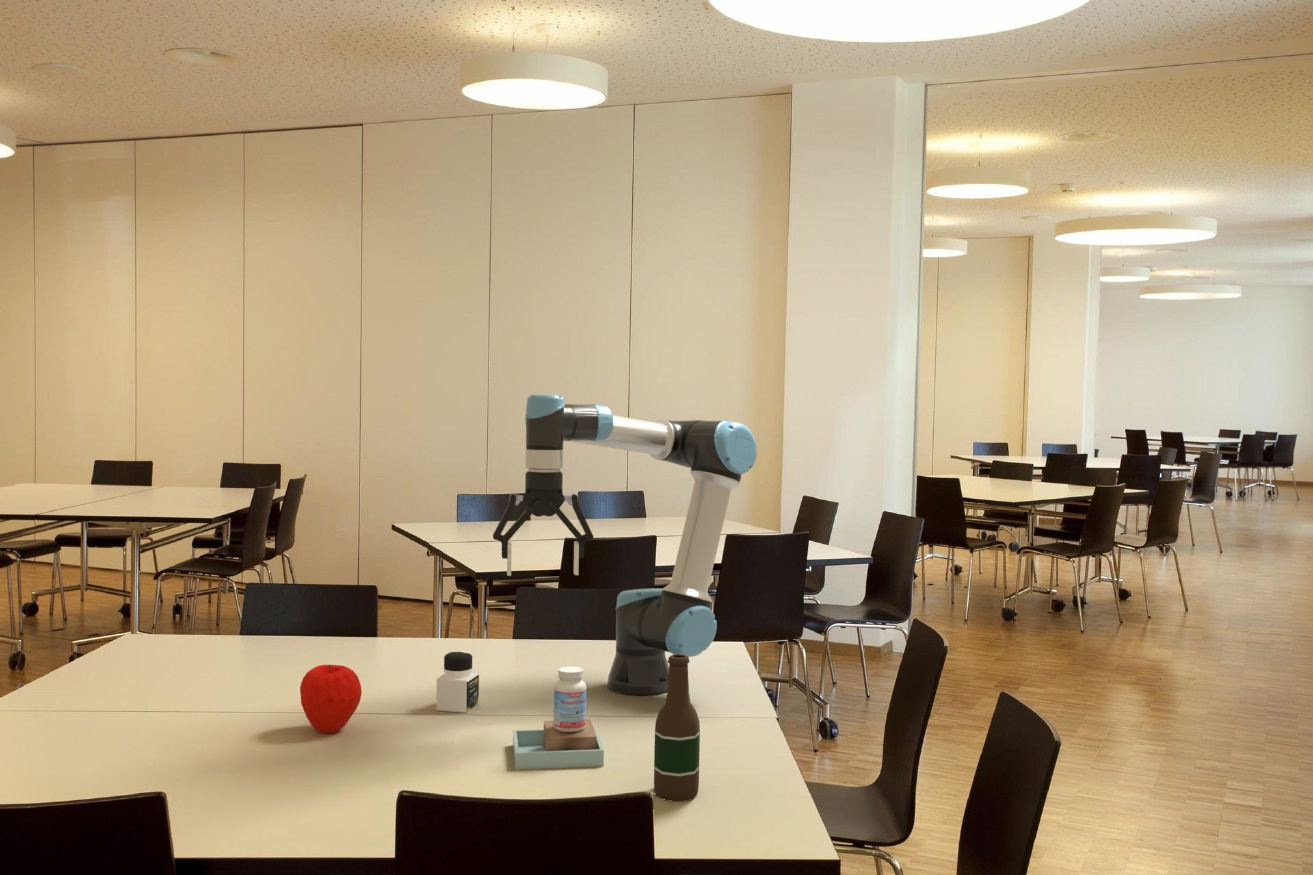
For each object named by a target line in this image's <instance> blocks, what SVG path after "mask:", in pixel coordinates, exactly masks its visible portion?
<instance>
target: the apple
mask: <svg viewBox="0 0 1313 875" xmlns="http://www.w3.org/2000/svg"><path fill="white" fill-rule="evenodd" d="M299 691H300V692H299V693H300V703H301V707H302V709H303V712H304V714H305V717H306V718H307V720H308V722H309V723H310V725H311V727H312V728H313V729H314V730H315V731H316V732H318V733H321V734H326V735H327V734H335V733H338V732H339V731H340V730H341V729H343V728H344V727H345V726H346V725H347V723H348V722H349V720H350V719H351V718H352V717H353V715H354V713H355V712H356V710H357V709H358V707H359V704H360V702H361V699H362V698H361V697H362V692H363V691H362V684H361V681H360V678H359V677H358V675H357V674H356V672H355V671H354V670H353V669H351V668H349V667H348V666H345V665H339V664H321V665H320V664H319V665H317V666H315V667H313V668H311V669H310V670H308V671H307V672H306V673H305V675H304V676H303V677H302V681H301V682H300V687H299Z"/></svg>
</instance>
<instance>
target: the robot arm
mask: <svg viewBox="0 0 1313 875" xmlns="http://www.w3.org/2000/svg"><path fill="white" fill-rule="evenodd" d="M564 399H565V398H564V396H563V395H561V394H530V395H529V396H528V397H527V400H526V408H525V410H526V412H525V418H524V422H525V468H526V469H527V470H528V471H526V472H525V477H524V478H525V480H524V481H525V482H524V485H525V488H524V489H525V490H524V494H523V495H520V494H516V493H514V492H513V493H510V494H509V501H508V505H507V506H506V508H505V510H504V512H503V514H502V516H501V519H500V520H499V522H498V524H497V527H495V530H494V532H493V535H492V538H493V540H496V541H498V542H500V543H501V558H502V559H503V560H504V559H506V566H507V567H506V575H507V576H509V577H511V576H512V544H513V543H512V541H509V540H511V538H513V536H514V535H515V534H516V533H517V532H518V530H519V529H520V528H521V527H522V526H523V525H524V524H525V523H526V521H527V520H528V519H529V518H530V517H532V516H531V515H533V516H535V517H543V516H544V517H553V516H555V515H557V518H559V519H560V520H561V522H562V523H563V524H564V525H565V526H566V528H567V529H568V530H569V531H570V533H571V534H572V535H573V536H574V537H575V539H576V541H574V542H573V574H574V575H575V576H579V570H580V569H579V565H580V564H579V562H580V561H579V559H584V557H585V543H586V542H587V541H591V540H593V539H594V535H593V532H592V530H591V528H590V526H589V524H588V522H587V520H586V518H585V516H584V513H583V512H582V509H581V507H580V505H579V497H578V494H576V493H572V494H569V495H564V493H563V475H564V474H563V472H562V471H561V470H562V469H563V467H564V466H563V465H564V442H571V443H573V442H574V443H577V444H585V445H591V446H598V447H604V448H610V449H616V450H622V451H629V452H635V453H640V454H647V455H650V457H651V458H653V459H654V460H658V461H664V462H668V463H670V464H671V463H672V464H674V465H675V464H676V465H679V466H682V467H686V468H689V469H690V471H689V472H690V475H691V476H692V478H693V480H694V483H693V488H692V493H691V496H690V501H689V504H688V509H687V513H686V517H685V520H684V521H685V522H684V525H683V530H682V533H681V534H682V535H681V537H680V538H681V539H680V541H679V542H680V543H679V547H678V549H677V550H678V551H677V554H676V555H677V556H676V559H675V564H674V568H673V572H672V576H671V580H670V582H669V584H667V585H665V587H663V588H658V587H657V588H639V589H630V590H623V591H620V592H619V594H618V595H617V596H616V597H617V598H616V605H615V617H616V618H615V621H616V622H615V655H614V659H613V662H612V665H611V667H610V670H609V674H608V677H607V687H608V689H609V690H611V691H612V692H615V693H619V694H625V695H634V696H647V695H658V694H663V693H667V688H668V675H669V663H668V659H667V656H666V653H670V654H671V655H675V654H681V655H685V656H687V657H689V658H693V657H696V656H699V655H700V654H701V655H702V653H703V652H704V651H706V650H707V649H708V648H709V647H710V646H711V644H712V643H713V641H714V639H715V636H716V633H717V624H718V623H717V620H716V619H715V618H716V615H715V613H714V612H713V611H712V609H711V607H712V604H713V599H712V598H711V595H710V593H709V592H708V590H709V586H710V582H711V578H712V574H713V568H714V564H715V561H716V557H717V553H718V549H719V544H720V540H721V536H722V531H723V527H724V522H725V517H726V514H727V510H728V505H729V501H730V497H731V493H732V490H733V489H735V488H736V487H739V485H740V483H741V479H742V475H743V474H746V473H747V472H749V471H750V469H752V468H753V467H754V466H755V463H756V461H757V457H758V456H757V455H758V447H757V446H758V444H757V441H756V439H755V437H754V436H753V433H752V431H751V429H750V428H748V427H747V426H746V425H745V424H743V423H740V422H735V421H730V420H702V419H701V420H700V419H698V420H696V419H695V420H692V419H691V420H667V419H662V418H661V419H658V420H656V421H655V422H654V421H650V420H649V421H648V420H644V419H643V420H642V419H639V418H638V419H637V418H634V417H633V418H632V417H627V416H626V417H625V416H622V415H615V414H613V412H612V411H611V409H610V408H609V407H608V406H606V405H602V404H596V403H595V404H578V403H577V404H576V403H573V404H572V403H569V404H568V403H567V404H565V400H564ZM521 502H523V504H524V505H525V506H526V509H525V510H524V511H523V512H522V513H521V515H520V516H519V517H518V518H517V519H516V520H515V522H514V523H513V524H512V525H511V527H510V528H508V530H507V531H506V532H505V533H504V534H502V533H503V531H504V529H505V527H506V526H507V524H508V522H509V519H510V517H511V515H512V514H513V511H514V509H515V507H516V506H519V504H520V503H521ZM565 502H567V503H568V506H572V509H573V511H574V513H575V515H576V517H577V519H578V521H579V524H580V527H582V530H583V531H584V534H581V532H580V531H579V530H578V529H577V528H576V527H575V525H574V524H573V522H571V520H569V518H568V516H566V514H565V513H564V512H563V511H562V510H561V509H560V508H561V506H563V504H564V503H565Z"/></svg>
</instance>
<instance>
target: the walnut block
mask: <svg viewBox="0 0 1313 875" xmlns="http://www.w3.org/2000/svg"><path fill="white" fill-rule="evenodd" d="M553 721H554V719H553V720H551V719H550V720H543V729H544V751H568V750H596V741H597V736H596V734H595V731H594V728H595V727H594V725H593V723H592V720H591V718H590V719H586V726H585V728H584V729H583V730H581V731H578V732H561V731H558V730H556V729H555V728H554V726H553Z"/></svg>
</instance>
